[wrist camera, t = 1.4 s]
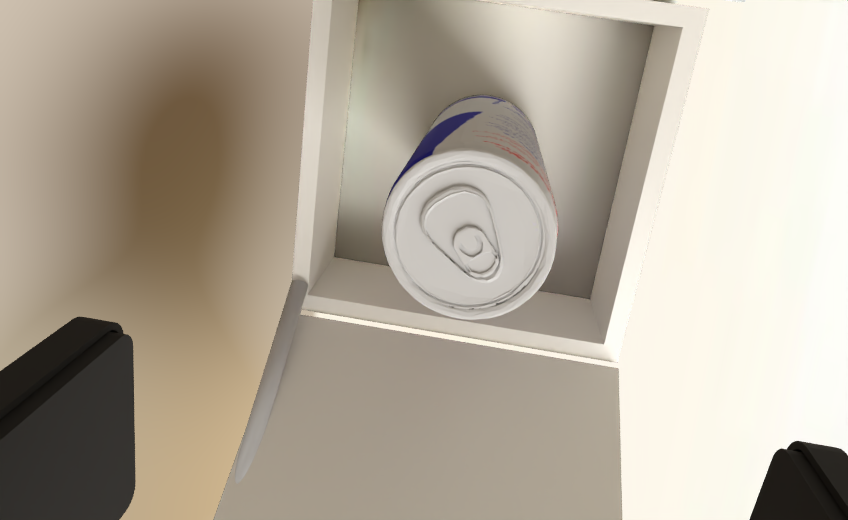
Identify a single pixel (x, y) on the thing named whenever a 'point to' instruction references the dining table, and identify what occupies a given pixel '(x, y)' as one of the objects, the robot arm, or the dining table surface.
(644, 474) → the dining table surface
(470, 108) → the beverage can
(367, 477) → the case
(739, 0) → the mat
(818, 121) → the dining table surface
